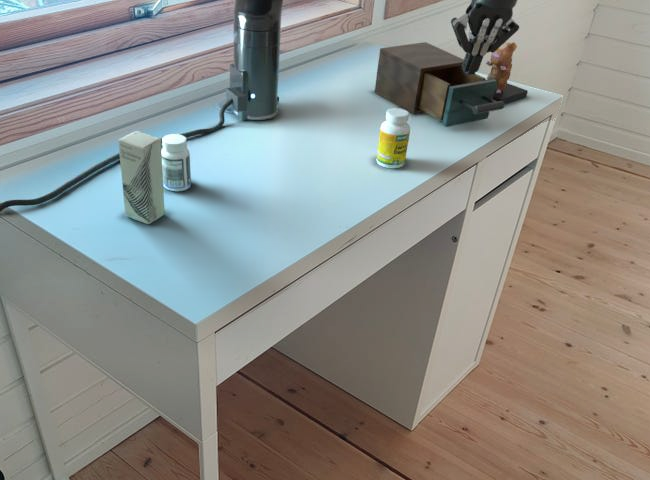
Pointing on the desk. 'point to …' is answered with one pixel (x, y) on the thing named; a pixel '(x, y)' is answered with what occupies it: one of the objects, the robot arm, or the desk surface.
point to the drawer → (457, 96)
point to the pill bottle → (176, 163)
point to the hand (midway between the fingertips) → (468, 72)
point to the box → (142, 176)
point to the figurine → (504, 75)
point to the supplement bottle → (393, 139)
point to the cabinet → (409, 72)
